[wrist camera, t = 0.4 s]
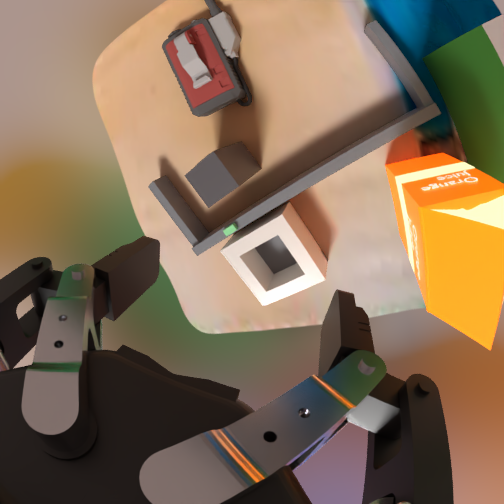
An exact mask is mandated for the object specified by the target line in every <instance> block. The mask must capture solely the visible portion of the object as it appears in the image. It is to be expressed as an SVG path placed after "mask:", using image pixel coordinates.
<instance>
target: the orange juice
mask: <svg viewBox="0 0 504 504" xmlns="http://www.w3.org/2000/svg"><path fill="white" fill-rule="evenodd" d="M385 167H386V171H387V175H388V179H389V183H390V188H391V192H392V197H393V201H394V206H395V211H396V216H397V222H398V227H399V233H400V237H401V239H402V241H403V244H404V246H405V249H406V251H407V254H408V256H409V260H410V263H411V265H412V268H413V271H414V273H415V275H416V278H417V280H418V283H419V286H420V289H421V292H422V295H423V298H424V301H425V305H426V310H427V311H428V313H429V312H430V313H432V314H433V315H435V316H437V317H438V318H440V319H442V320H443V321H445V322H447V323H448V324H450V325H451V326H453V327H455V328H456V329H458V330H459V331H461V332H462V333H464V334H466V335H467V336H469V337H470V338H472V339H474V340H475V341H477V342H478V343H480V344H481V345H483V346H484V347H486V348H487V349H489V350H491V346H492V342H493V339H494V335H495V332H496V328H497V324H498V321H499V316H500V312H501V307H502V303H503V298H504V184H503V183H501V182H499V181H498V180H496V179H494V178H492V177H491V176H489V175H487V174H485V173H483V172H481V171H480V170H478V169H476V168H475V167H473V166H471V165H469V164H467V163H465V162H462V161H460V160H458V159H456V158H453V157H451V156H449V155H447V154H445V153H439V154H434V155H429V156H424V157H419V158H414V159H410V160H405V161H401V162H396V163H392V164H388V165H385Z"/></svg>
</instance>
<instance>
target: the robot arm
mask: <svg viewBox="0 0 504 504" xmlns="http://www.w3.org/2000/svg"><path fill="white" fill-rule="evenodd" d="M159 259H160V243H159V241H158V240H156V239H153V238H149V237H146V236H142V237H141V238H139V239H137V240H136V241H134V242H133V243H130V244H127V245H123V246H121V247H119V248H118V249H116V250H115V251H113V252H112V253H110V254H109V255H107V256H105V257H104V258H102V259H101V260H99V261H98V262H96V263H95V264H93V265H91V266H90V265H87V264H74V265H71V266H69V267H67V268H66V269H65V270H64V271H63V272H61V271H55V270H53V268H52V263H51V261H50V259H48V258H46V257H37V258H33V259H31V260H29V261H27V262H26V263H25V264H23V265H21V266H20V267H18V268H17V269H15V270H14V271H12V272H11V273H9V274H8V275H6V276H5V277H3V278H2V279H0V504H312V503H311V501H310V500H309V498H308V496H307V495H306V493H305V491H304V490H303V488H302V486H301V485H300V483H299V482H298V480H297V478H296V476H295V475H294V473H293V471H295V470H296V469H297V468H299V467H300V466H301V465H302V464H303V463H305V462H306V461H307V460H308V459H309V458H310V457H311V456H312V455H314V454H315V453H316V452H317V451H318V450H319V449H320V448H321V447H322V446H324V445H325V444H326V443H327V442H328V441H329V440H330V439H331V438H333V437H334V436H335V435H336V434H337V433H338V432H339V431H340V430H341V429H342V428H343V427H344V426H345V425H346V424H347V423H348V422H351V423H353V424H355V425H357V426H359V427H362V428H364V429H366V430H368V448H367V462H366V475H365V484H364V492H363V501H362V504H454V503H453V480H452V468H451V459H450V450H449V443H448V436H447V430H446V424H445V419H444V414H443V409H442V404H441V399H440V395H439V391H438V388H437V386H436V384H435V383H434V382H433V381H432V380H431V379H430V378H428V377H427V376H424V375H421V374H413V375H411V376H410V377H409V378H408V379H407V380H406V382H405V381H403V380H400V379H398V378H396V377H394V376H391V375H389V374H388V373H386V371H387V369H386V365H385V363H384V361H383V360H382V359H381V358H380V357H379V356H377V355H376V354H375V351H374V346H373V340H372V335H371V329H370V326H369V318H368V315H367V314H366V313H365V311H364V310H363V308H361V307H357V306H356V304H355V298H354V294H353V293H349V292H345V291H341V290H336V291H335V293H334V296H333V298H332V301H331V304H330V306H329V309H328V311H327V314H326V316H325V319H324V322H323V325H322V330H321V342H320V358H319V373H318V376H316V375H313V376H310V377H309V378H307V379H306V380H304V381H303V382H301V383H300V384H298V385H297V386H295V387H294V388H292V389H291V390H289V391H288V392H286V393H285V394H283V395H282V396H280V397H278V398H276V399H275V400H273V401H271V402H270V403H268V404H267V405H265V406H263V407H261V408H260V409H258V410H256V411H254V410H253V409H252V408H251V407H250V406H248V405H247V404H245V403H244V402H242V401H240V400H238V396H239V392H240V390H239V389H236V388H232V387H229V386H226V385H223V384H220V383H217V382H214V381H211V380H207V379H201V378H194V377H188V376H182V375H176V374H173V373H171V372H169V371H168V370H167V369H165V368H164V367H162V366H161V365H160V364H158V363H157V362H155V361H154V360H153V359H151V358H150V357H149V356H147V355H145V354H142V353H140V352H138V351H136V350H133V349H131V348H129V347H127V346H125V345H122V346H121V347H120V348H119V349H118V350H117V351H110V350H102V320H101V319H102V318H103V317H106V318H108V319H110V320H112V321H115V320H116V319H117V318H118V317H119V316H120V315H121V314H122V313H123V312H124V311H125V310H126V309H127V308H128V307H129V306H130V305H131V304H133V303H134V302H135V301H136V300H137V299H138V298H139V297H140V296H141V295H142V294H143V293H144V292H145V291H146V290H147V289H148V288H150V286H152V285H153V284H154V283H155V281H156V279H157V278H158V275H159ZM30 294H31V298H32V301H33V305H34V307H33V308H32V309H31V310H30V311H28V312H27V313H26V314H25V315H24V316H23V317H21V318H20V319H19V320H18V317H17V314H16V308H17V306H18V304H19V303H20V302H21V301H22V300H24V299H25V298H26V297H27V296H29V295H30ZM35 345H36V348H35V354H34V359H33V363H32V365H28V366H24V367H19V368H14V366H15V365H16V364H17V363H18V362H19V361H20V360H21V359H22V358H23V357H24V356H25V355H26V354H27V353H28V352H29V351H30V350H31V349H32V348H33V347H34V346H35ZM13 368H14V369H13Z"/></svg>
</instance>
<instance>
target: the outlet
mask: <svg viewBox="0 0 504 504" xmlns="http://www.w3.org/2000/svg"><path fill="white" fill-rule="evenodd" d="M221 253H222V254H223V255H224V257H225V258H226V259H227V261H228V262H229V263H230V264H231V266H232V267H233V268H234V270H235V271H236V272H237V273H238V275H239V276H240V277H241V279H242V280H243V281H244V282H245V284H246V285H247V286H248V287H249V289H250V290H251V291H252V293H253V294H254V295H255V296H256V298H257V299H258V300H259V301H260V303H261V304H262V305H263V306H265V305H268V304H270V303H273V302H275V301H277V300H280V299H282V298H285V297H287V296H289V295H292V294H294V293H296V292H299V291H301V290H304V289H306V288H308V287H310V286H313V285H315V284H317V283H320V282H322V281H324V280H326V272H327V263H328V260H327V258H326V257H325V255H324V253H323V252H322V250H321V249H320V247H319V246H318V244H317V242H316V241H315V239H314V238H313V236H312V235H311V233H310V232H309V230H308V229H307V227H306V226H305V224H304V223H303V221H302V220H301V218H300V217H299V215H298V214H297V212H296V211H295V209H294V208H293V206H292V205H291V203H290V202H287V203H286V204H284V205H282V206H281V207H279V208H277V209H276V210H274V211H272V212H271V213H269V214H267V215H266V216H264V217H262V218H261V219H259V220H257V221H256V222H254V223H252V224H251V225H249V226H247V227H246V228H244V229H243V230H241V231H239V232H238V233H236V234H234V235H233V236H232V237H231V238H230V240H229V241H228V242H227V243H226V245H225V246H224V247H223V248H222V249H221Z"/></svg>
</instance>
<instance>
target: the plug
mask: <svg viewBox="0 0 504 504" xmlns="http://www.w3.org/2000/svg"><path fill="white" fill-rule="evenodd" d="M259 170H261V167H260V166H259V164H258V163H257V162H256V160H255V159H254V157H253V156H252V155H251V153H250V152H249V151H248V149H247V148H246V147H245V145H244V144H243V143H242V142H239V143H236V144H233V145H230V146H227V147H224V148H221V149H218V150H216V151H213V152H212V153H210V154H209V155H207V156H206V157H205V158H204V159H203V160H201V161H200V162H199V163H198V164H197V165H196V166H195V167H194V168H193V169H192V170H191V171H189V172H188V173H187V174H186V175H185V177H186V178H187V180H188V181H189V182H190V184H191V185H192V186H193V188H194V189H195V190H196V192H197V193H198V194H199V196H200V197H201V198H202V200H203V201H204V202H205V204H206V205H207V206H208V208H209V207H211V206H212V205H213V204H215V203H216V202H217V201H219V200H220V199H222V198H223V197H224V196H226V195H227V194H229V193H230V192H231V191H233V190H234V189H236V188H237V187H239V186H240V185H241V184H242V183H244V182H245V181H246V180H248V179H249V178H250V177H251V176H253V175H254V174H255V173H257V172H258V171H259Z"/></svg>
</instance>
